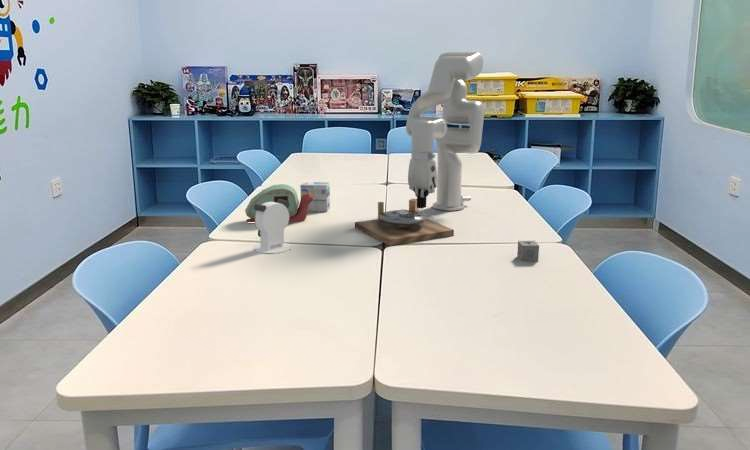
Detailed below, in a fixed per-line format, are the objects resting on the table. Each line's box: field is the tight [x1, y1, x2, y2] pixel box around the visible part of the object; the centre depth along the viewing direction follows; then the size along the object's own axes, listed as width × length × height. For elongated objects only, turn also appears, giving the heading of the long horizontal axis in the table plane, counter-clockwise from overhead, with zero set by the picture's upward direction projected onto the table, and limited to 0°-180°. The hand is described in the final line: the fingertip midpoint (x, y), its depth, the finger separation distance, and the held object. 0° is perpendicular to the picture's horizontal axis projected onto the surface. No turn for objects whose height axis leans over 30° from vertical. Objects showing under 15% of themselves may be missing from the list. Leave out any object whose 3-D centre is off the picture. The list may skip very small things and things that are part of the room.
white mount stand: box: [254, 199, 292, 254], centre depth 204 cm, size 12×11×15 cm
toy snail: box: [244, 183, 313, 223], centre depth 237 cm, size 25×8×14 cm, turn 97°
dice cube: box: [516, 240, 540, 262], centre depth 194 cm, size 5×5×5 cm
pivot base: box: [354, 201, 455, 247], centre depth 223 cm, size 25×25×9 cm
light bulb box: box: [299, 181, 331, 213], centre depth 254 cm, size 11×7×11 cm, turn 84°
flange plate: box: [380, 197, 428, 225], centre depth 224 cm, size 18×16×5 cm
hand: (421, 207), depth 228 cm, fingers closed
